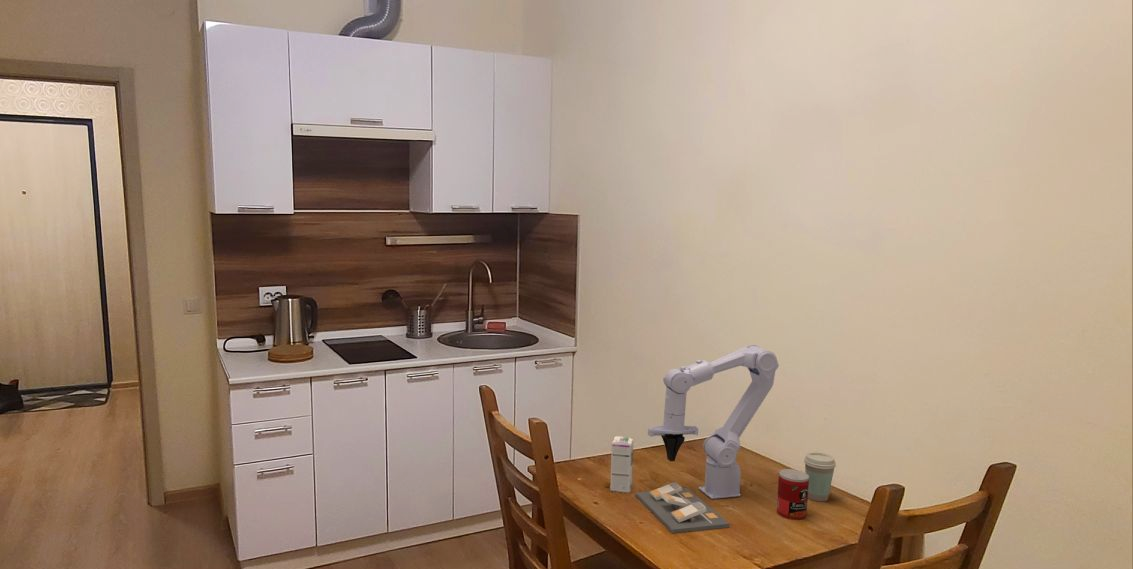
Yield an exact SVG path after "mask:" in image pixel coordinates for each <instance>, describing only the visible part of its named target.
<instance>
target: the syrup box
mask: <svg viewBox="0 0 1133 569" xmlns="http://www.w3.org/2000/svg"><path fill="white" fill-rule="evenodd" d="M610 455H611V456H610V483H609V485H610V487H609V488H610V489H609V490H610V491H611V492H618V493H627V494H628V493H631V490H632V487H633V471H634V470H633V469H634V465H633V464H634V438H633V437H630V436H620V435H619V436H614V438H613V439H612V441H611V453H610Z"/></svg>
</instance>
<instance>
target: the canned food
mask: <svg viewBox="0 0 1133 569" xmlns="http://www.w3.org/2000/svg"><path fill="white" fill-rule="evenodd" d="M777 483H778V484H777V497H776V498H777V499H776V511H777V514H779V516H781V515H782V517H783V516H784V518H786V519H789V518H791V519H790V520H802V519H804V518H805V517H806V515H807V512H808V499H809V498H808V487H809V476H808V475H807V474H806V472H804V471H802V470H798V469H794V468H793V469H792V468H784V469H780V470H779V473H778V482H777ZM801 518H802V519H801Z"/></svg>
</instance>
